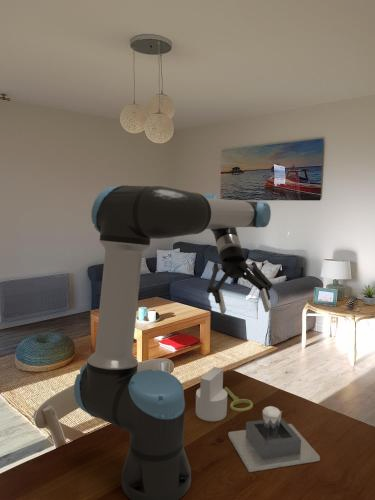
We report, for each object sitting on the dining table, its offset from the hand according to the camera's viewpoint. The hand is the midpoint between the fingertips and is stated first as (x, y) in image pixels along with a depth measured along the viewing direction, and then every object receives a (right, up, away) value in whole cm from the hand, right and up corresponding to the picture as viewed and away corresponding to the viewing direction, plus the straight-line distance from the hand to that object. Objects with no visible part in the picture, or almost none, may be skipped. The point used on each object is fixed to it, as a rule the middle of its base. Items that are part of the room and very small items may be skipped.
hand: (246, 311), depth 115 cm
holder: (+4, -32, -15) cm, 36 cm away
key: (-2, -29, +7) cm, 30 cm away
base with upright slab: (-10, -30, +1) cm, 31 cm away
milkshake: (+4, -31, -15) cm, 35 cm away
